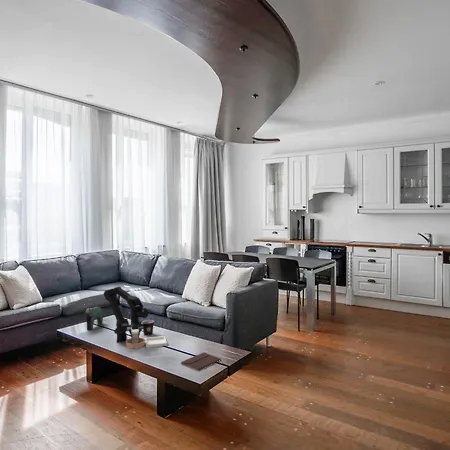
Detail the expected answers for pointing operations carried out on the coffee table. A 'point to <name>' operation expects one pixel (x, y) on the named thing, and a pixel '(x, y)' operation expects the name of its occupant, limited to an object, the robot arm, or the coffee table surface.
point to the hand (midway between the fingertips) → (135, 337)
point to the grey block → (135, 341)
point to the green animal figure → (94, 316)
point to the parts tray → (155, 341)
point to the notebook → (200, 361)
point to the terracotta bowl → (135, 345)
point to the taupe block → (135, 335)
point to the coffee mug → (148, 330)
